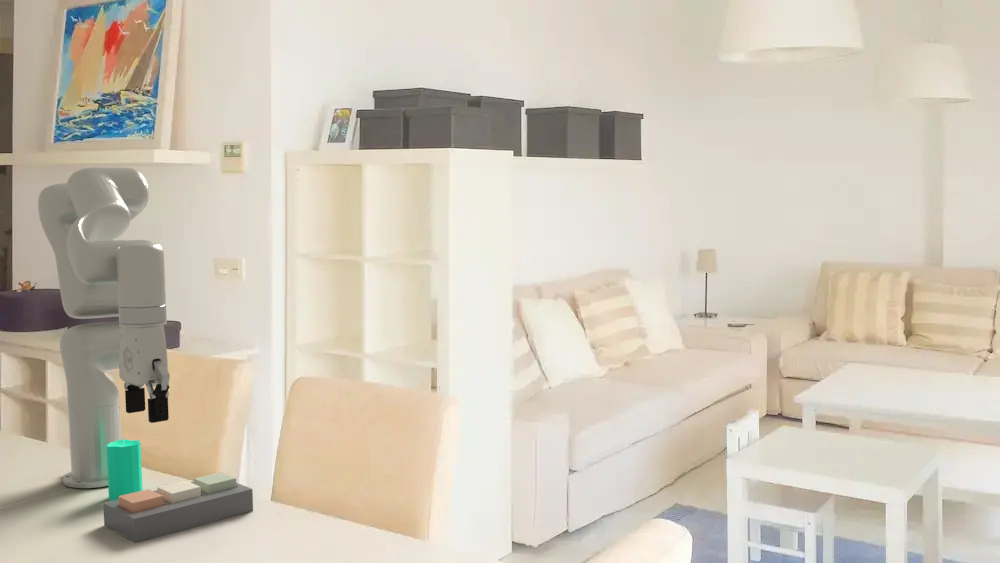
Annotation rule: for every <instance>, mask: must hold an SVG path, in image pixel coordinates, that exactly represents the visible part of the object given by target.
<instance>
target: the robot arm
mask: <svg viewBox="0 0 1000 563" xmlns="http://www.w3.org/2000/svg"><path fill="white" fill-rule="evenodd" d="M149 192H150V191H149V184H148V182H147V180H146V178H145V176H144V175H143V174H142V172H140V171H139V170H137V169H134V168H130V167H86V168H80V169H78V170H76V171H75V172H73V173H72V174H70V176H69V177H68V179H67V181H66V182H65V183H64V182H63V183H56V184H51V185H48V186H46V187H44V188H43V189H42V190H41V191H40V193H39V195H38V200H37V208H38V216H39V219H40V220H39V221H40V224H41V227H42V229H43V231H44V234H45V237H46V238H47V240H48V242H49V245H50V246H51V249H52V251H53V253H54V256H55V263H56V264H55V265H56V270H57V278H58V279H57V280H58V286H59V291H60V298H61V303H62V307H63V310H64V312H65V314H66V315H67V316H68V317H70V318H72V319H77V320H79V319H80V320H85V319H86V320H87V319H101V318H111V317H112V318H113V317H115V318H116V317H118V320H117V321H106V322H105V321H104V322H92V323H91V322H90V323H84V324H79V325H78V324H77V325H75V326H74V325H73V326H71V327H69V328H68V329H66V330H65V331H64V332H63V333H62V335H61V336H60V341H59V348H60V349H59V351H60V355H61V360H62V365H63V368H64V375H65V384H66V393H67V408H68V409H67V410H68V425H69V426H68V427H69V428H68V429H69V449H70V452H69V453H70V469H71V471H70V472H68V473H66V474H65V475H64V476H63V478H62V481H63V485H64V486H66V487H69V488H74V489H97V488H103V487H104V488H105V487H108V469H107V447H106V446H107V445H108V444H109V443H111V442H114V441H118V440H122V428H121V427H122V422H121V404H120V403H121V401H120V391H119V389H118V386H116V384H115V383H114V382H113V381H112V380H111V379H110V378H109V377H108V376H107V375H106V374H105V372H106V371H112V370H119V372H118V375H119V378H120V379H121V381H123V382H124V384H123V388H124V396H125V401H124V402H125V412H126V413H127V414H133V413H139V412H144V411H145V410H146V393H145V389H147V393H148V395H149V398H147V414H148V422H149V423H150V424H154V423H160V422H166V421H168V420H169V419H170V417H169V395H170V393H169V389H170V384H169V382H170V377H171V375H170V373H169V365H168V364H169V363H168V351H167V350H168V349H167V340H166V332H165V325H167V324H168V321H167V320H168V319H167V301H166V300H167V298H166V297H167V296H166V294H167V293H166V276H165V275H166V272H165V254H164V252H165V251H164V249H163V247H162V245H160V244H158V243H156V242H152V241H151V240H147V239H132V240H128V239H127V240H123V239H122V240H120V239H118V238H119V237H121V236H122V235H123V234H124V233H125V232H126V231H127V229H128V228H129V226H130V223H131V221H132V220H133V219H134V218H135V219H136V217H137V216H139V215H140V214H141V213H142V212H143V211H144V210H145V208H146V207H147V205H148V202H149V198H150V193H149ZM115 239H117V240H115ZM144 386H145V387H146V388H145V387H144ZM154 387H155V388H154Z"/></svg>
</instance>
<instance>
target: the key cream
mask: <svg viewBox="0 0 1000 563" xmlns="http://www.w3.org/2000/svg"><path fill="white" fill-rule="evenodd" d="M191 482H192V481H188V480H183V481H179V482H178V481H177V482H174V483H169V484H164V485H161V486H157V489H156V490H158V494H160V495H163V500H165V501H167V502H169V503H175V502H180V501H184V500H188V499H192V498H196V497H200V496H201V487H200V486H198V485H195V484H193V483H191Z"/></svg>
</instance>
